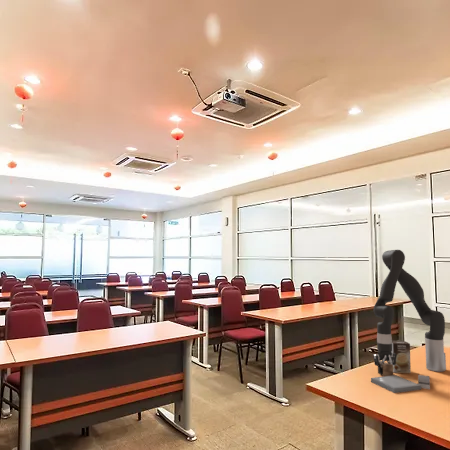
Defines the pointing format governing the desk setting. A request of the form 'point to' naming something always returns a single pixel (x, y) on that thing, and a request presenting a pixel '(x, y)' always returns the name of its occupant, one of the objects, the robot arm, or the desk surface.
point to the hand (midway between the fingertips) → (385, 373)
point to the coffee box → (401, 356)
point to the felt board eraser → (424, 381)
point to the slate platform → (395, 383)
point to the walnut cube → (387, 369)
